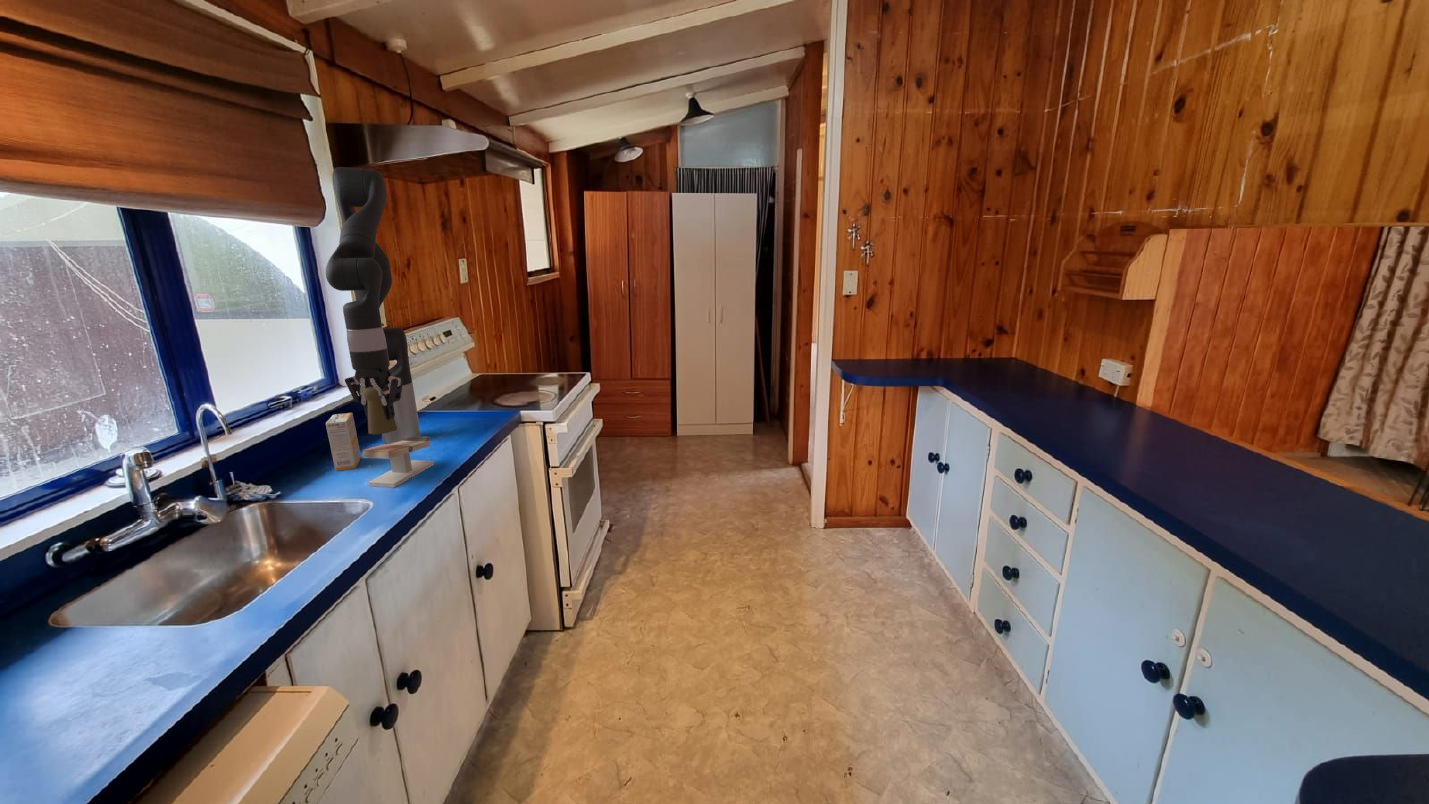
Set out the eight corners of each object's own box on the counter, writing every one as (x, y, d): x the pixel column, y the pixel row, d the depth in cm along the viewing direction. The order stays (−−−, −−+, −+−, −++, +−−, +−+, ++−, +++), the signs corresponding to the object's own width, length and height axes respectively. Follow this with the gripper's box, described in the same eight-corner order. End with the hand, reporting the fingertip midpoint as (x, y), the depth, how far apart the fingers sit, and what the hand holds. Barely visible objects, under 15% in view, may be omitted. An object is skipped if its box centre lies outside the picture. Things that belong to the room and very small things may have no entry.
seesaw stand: (368, 486, 136) (364, 462, 134) (410, 463, 150) (407, 442, 148) (394, 487, 135) (390, 464, 133) (434, 464, 149) (430, 443, 147)
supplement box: (341, 461, 152) (331, 414, 149) (361, 458, 154) (353, 412, 151) (334, 471, 145) (324, 422, 142) (356, 468, 147) (346, 420, 143)
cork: (384, 434, 131) (376, 388, 129) (362, 433, 133) (353, 388, 130) (403, 427, 137) (395, 382, 134) (381, 426, 138) (373, 382, 136)
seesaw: (363, 457, 134) (362, 447, 133) (407, 445, 148) (406, 435, 148) (389, 459, 133) (388, 448, 132) (430, 446, 147) (430, 436, 147)
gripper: (407, 345, 132) (418, 415, 137) (353, 344, 135) (366, 414, 139) (383, 350, 125) (396, 425, 130) (327, 350, 127) (342, 423, 132)
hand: (380, 419), depth 134 cm, fingers closed on cork, 4 cm apart
